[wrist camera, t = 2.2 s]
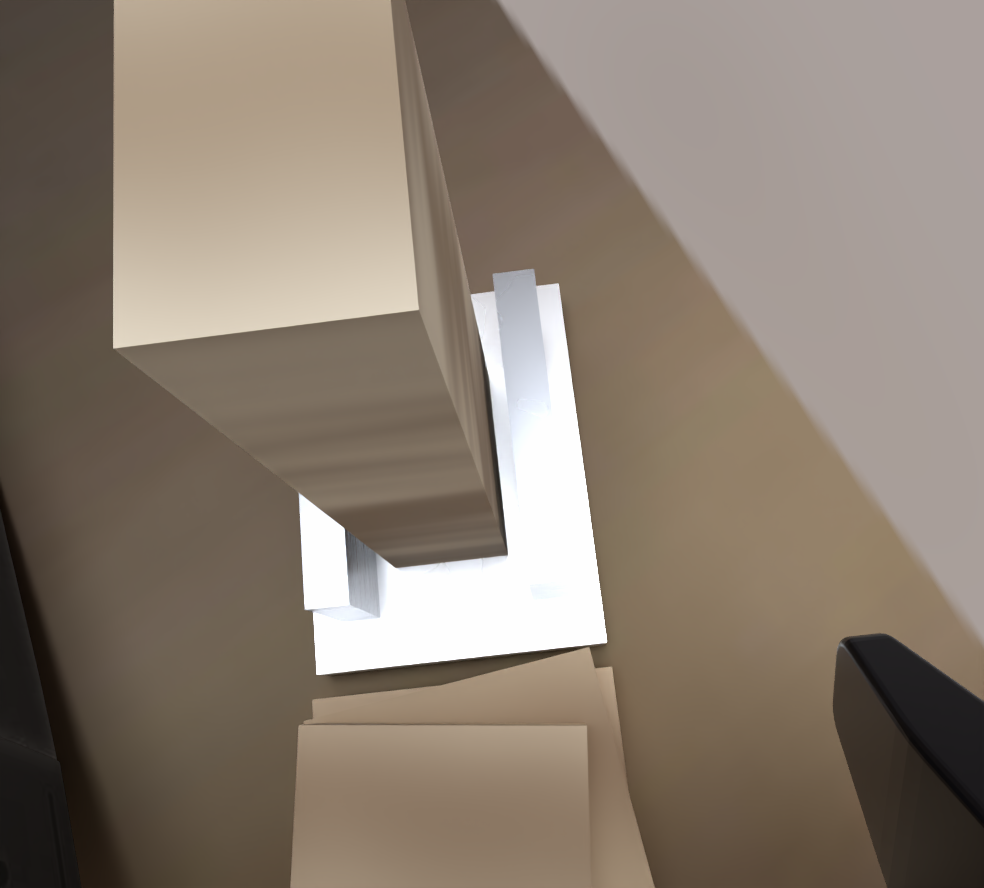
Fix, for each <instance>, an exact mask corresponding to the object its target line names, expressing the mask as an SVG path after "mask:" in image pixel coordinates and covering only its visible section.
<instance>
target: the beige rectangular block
mask: <svg viewBox="0 0 984 888" xmlns="http://www.w3.org/2000/svg"><path fill="white" fill-rule="evenodd" d="M113 349H114V350H116V351H117V352H118V353H120V354H121V355H122V356H123V357H125V358H126V359H127V360H129V361H130V362H131V363H132V364H134V365H135V366H136V367H138V368H139V369H140V370H141V371H143V372H144V373H145V374H147V375H148V376H149V377H150V378H152V379H153V380H154V381H156V382H157V383H158V384H159V385H161V386H162V387H163V388H165V389H166V390H167V391H168V392H170V393H171V394H172V395H174V396H175V397H176V398H177V399H179V400H180V401H181V402H183V403H184V404H185V405H186V406H188V407H189V408H190V409H192V410H193V411H194V412H195V413H197V414H198V415H199V416H201V417H202V418H203V419H204V420H206V421H207V422H208V423H210V424H211V425H212V426H213V427H215V428H216V429H217V430H219V431H220V432H221V433H222V434H224V435H225V436H226V437H228V438H229V439H230V440H231V441H233V442H234V443H235V444H237V445H238V446H239V447H240V448H242V449H243V450H244V451H246V452H247V453H248V454H249V455H251V456H252V457H253V458H255V459H256V460H257V461H258V462H260V463H261V464H262V465H264V466H265V467H266V468H267V469H269V470H270V471H271V472H273V473H274V474H275V475H276V476H278V477H279V478H280V479H282V480H283V481H284V482H285V483H287V484H288V485H289V486H291V487H292V488H293V489H294V490H296V491H297V492H298V493H300V494H301V495H302V496H303V497H305V498H306V499H307V500H309V501H310V502H311V503H312V504H314V505H315V506H316V507H318V508H319V509H320V510H321V511H323V512H324V513H325V514H327V515H328V516H329V517H330V518H332V519H333V520H334V521H336V522H337V523H338V524H339V525H341V526H342V527H343V528H345V529H346V530H347V531H348V532H350V533H351V534H352V535H354V536H355V537H356V538H357V539H359V540H360V541H361V542H363V543H364V544H365V545H366V546H368V547H369V548H370V549H372V550H373V551H374V552H375V553H377V554H378V555H379V556H381V557H382V558H383V559H384V560H386V561H387V562H388V563H390V564H391V565H392V566H393V567H395V568H402V567H411V566H419V565H428V564H437V563H445V562H454V561H463V560H471V559H480V558H489V557H497V556H506V555H508V546H507V536H506V527H505V518H504V509H503V500H502V491H501V482H500V473H499V464H498V455H497V446H496V437H495V428H494V419H493V410H492V401H491V392H490V382H489V375H488V370H487V366H486V361H485V357H484V352H483V348H482V343H481V339H480V334H479V330H478V325H477V321H476V317H475V312H474V308H473V303H472V299H471V294H470V290H469V285H468V281H467V276H466V272H465V267H464V263H463V258H462V254H461V249H460V245H459V240H458V236H457V231H456V227H455V222H454V218H453V213H452V209H451V204H450V200H449V195H448V191H447V186H446V182H445V177H444V173H443V168H442V164H441V159H440V155H439V151H438V146H437V142H436V137H435V133H434V128H433V124H432V119H431V115H430V110H429V106H428V101H427V97H426V92H425V88H424V83H423V79H422V74H421V70H420V65H419V61H418V56H417V52H416V47H415V43H414V38H413V34H412V29H411V25H410V20H409V16H408V11H407V7H406V2H405V0H114V234H113Z"/></svg>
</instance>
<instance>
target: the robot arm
mask: <svg viewBox="0 0 984 888" xmlns="http://www.w3.org/2000/svg"><path fill="white" fill-rule="evenodd" d="M833 714H834V720H835V725H836V729H837V732H838V735H839V738H840V742H841V745H842V748H843V751H844V754H845V757H846V760H847V764H848V767H849V770H850V773H851V776H852V779H853V783H854V786H855V789H856V792H857V795H858V798H859V801H860V805H861V808H862V811H863V814H864V817H865V820H866V824H867V827H868V830H869V833H870V836H871V839H872V842H873V846H874V849H875V852H876V855H877V858H878V861H879V864H880V867H881V870H882V873H883V876H884V879H885V882H886V885H887V888H984V701H983V700H981V699H980V698H978V697H977V696H975V695H974V694H973V693H971V692H970V691H968V690H967V689H966V688H964V687H963V686H961V685H960V684H958V683H957V682H956V681H954V680H953V679H951V678H950V677H949V676H947V675H946V674H944V673H943V672H942V671H940V670H939V669H937V668H936V667H934V666H933V665H932V664H930V663H929V662H927V661H926V660H925V659H923V658H922V657H920V656H919V655H918V654H916V653H915V652H913V651H912V650H910V649H909V648H908V647H906V646H905V645H903V644H902V643H901V642H899V641H898V640H896V639H895V638H893V637H892V636H889V635H887V634H882V633H878V634H869V635H860V636H850V637H846V638H844V639H842V640H841V641H840V643H839V645H838V648H837V655H836V668H835V681H834V693H833Z"/></svg>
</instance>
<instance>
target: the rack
mask: <svg viewBox="0 0 984 888" xmlns="http://www.w3.org/2000/svg"><path fill="white" fill-rule="evenodd" d="M493 282H494V290H495V292H487V293H479V294H471V299H472V303H473V308H474V312H475V317H476V321H477V325H478V330H479V334H480V339H481V343H482V348H483V352H484V357H485V361H486V366H487V370H488V375H489V382H490V392H491V401H492V410H493V419H494V428H495V437H496V446H497V455H498V464H499V473H500V482H501V491H502V500H503V509H504V518H505V527H506V536H507V546H508V555H506V556H497V557H489V558H480V559H471V560H463V561H454V562H445V563H437V564H428V565H419V566H411V567H402V568H395V567H393V566H392V565H391V564H390V563H388V562H387V561H386V560H384V559H383V558H382V557H381V556H379V555H378V554H377V553H375V552H374V551H373V550H372V549H370V548H369V547H368V546H366V545H365V544H364V543H363V542H361V541H360V540H359V539H357V538H356V537H355V536H354V535H352V534H351V533H350V532H348V531H347V530H346V529H345V528H343V527H342V526H341V525H339V524H338V523H337V522H336V521H334V520H333V519H332V518H330V517H329V516H328V515H327V514H325V513H324V512H323V511H321V510H320V509H319V508H318V507H316V506H315V505H314V504H312V503H311V502H310V501H309V500H307V499H306V498H305V497H303V496H302V495H301V494H300V493H299V505H300V524H301V544H302V563H303V582H304V602H305V610H307V611H310V612H313V613H314V631H315V649H316V668H317V675H327V676H330V675H339V674H348V673H357V672H366V671H375V670H384V669H392V668H401V667H410V666H419V665H428V664H437V663H446V662H455V661H464V660H473V659H482V658H491V657H500V656H509V655H518V654H527V653H536V652H545V651H554V650H563V649H572V648H581V647H590V646H599V645H605V644H606V643H607V638H606V631H605V623H604V616H603V608H602V601H601V594H600V586H599V579H598V571H597V564H596V557H595V549H594V542H593V534H592V527H591V520H590V512H589V505H588V497H587V490H586V483H585V475H584V468H583V460H582V453H581V446H580V438H579V431H578V423H577V416H576V409H575V401H574V394H573V386H572V379H571V372H570V364H569V357H568V349H567V342H566V335H565V327H564V320H563V312H562V305H561V298H560V290H559V283H558V284H550V285H542V286H536V282H535V274H534V269H528V270H521V271H513V272H505V273H497V274H493Z"/></svg>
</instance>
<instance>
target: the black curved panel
mask: <svg viewBox="0 0 984 888" xmlns="http://www.w3.org/2000/svg"><path fill="white" fill-rule="evenodd" d="M0 888H81V882H80V876H79V870H78V864H77V859H76V853H75V847H74V841H73V836H72V830H71V824H70V818H69V813H68V807H67V801H66V795H65V790H64V784H63V778H62V772H61V767H60V762H59V761H57V758H56V753H55V748H54V743H53V738H52V733H51V728H50V724H49V719H48V714H47V710H46V705H45V700H44V696H43V691H42V687H41V682H40V677H39V673H38V669H37V664H36V660H35V656H34V652H33V647H32V643H31V639H30V635H29V630H28V626H27V622H26V618H25V613H24V609H23V605H22V601H21V596H20V592H19V588H18V584H17V579H16V575H15V571H14V567H13V562H12V558H11V554H10V549H9V545H8V541H7V537H6V532H5V528H4V524H3V520H2V515H1V511H0Z"/></svg>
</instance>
